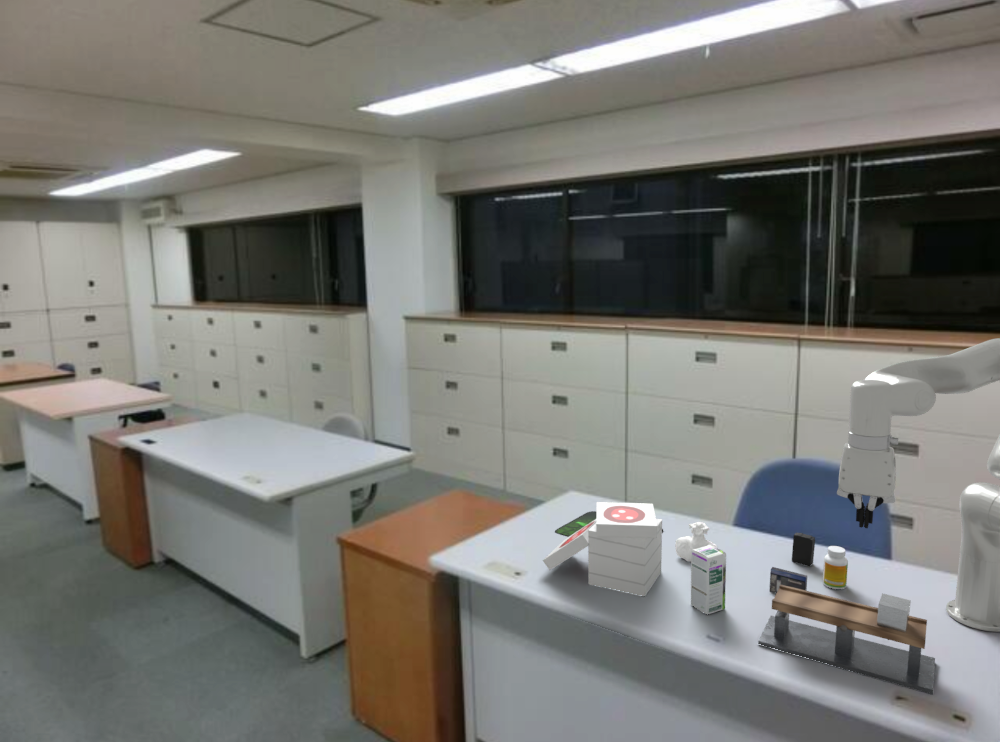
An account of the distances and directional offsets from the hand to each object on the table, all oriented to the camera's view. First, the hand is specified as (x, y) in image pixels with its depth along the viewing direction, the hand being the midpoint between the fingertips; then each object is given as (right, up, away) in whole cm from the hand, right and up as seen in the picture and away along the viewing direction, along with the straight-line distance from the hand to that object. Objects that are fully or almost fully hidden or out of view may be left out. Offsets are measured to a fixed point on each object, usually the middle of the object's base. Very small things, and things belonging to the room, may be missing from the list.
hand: (864, 525), depth 142 cm
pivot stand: (-3, -27, +1) cm, 28 cm away
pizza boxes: (-48, -22, +39) cm, 66 cm away
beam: (-4, -19, 0) cm, 20 cm away
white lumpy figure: (-21, -20, +46) cm, 55 cm away
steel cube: (+3, -19, -5) cm, 20 cm away
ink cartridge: (+6, -20, +42) cm, 47 cm away
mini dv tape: (-5, -23, +26) cm, 35 cm away
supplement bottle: (+9, -22, +30) cm, 38 cm away
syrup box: (-26, -25, +21) cm, 42 cm away
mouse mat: (-43, -17, +66) cm, 81 cm away
